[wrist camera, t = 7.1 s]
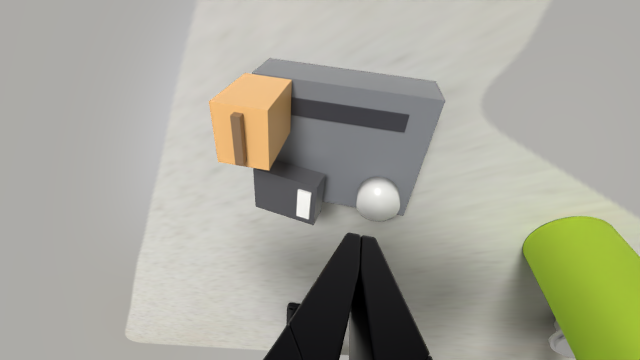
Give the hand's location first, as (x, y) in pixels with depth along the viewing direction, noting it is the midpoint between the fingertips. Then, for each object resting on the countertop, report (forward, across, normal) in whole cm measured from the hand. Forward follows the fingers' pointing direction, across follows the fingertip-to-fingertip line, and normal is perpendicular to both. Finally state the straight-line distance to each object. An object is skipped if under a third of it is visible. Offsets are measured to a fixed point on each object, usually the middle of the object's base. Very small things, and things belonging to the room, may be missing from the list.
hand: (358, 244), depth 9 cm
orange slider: (+9, +5, 0) cm, 10 cm away
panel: (+12, +2, +2) cm, 12 cm away
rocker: (+8, +4, +5) cm, 10 cm away
